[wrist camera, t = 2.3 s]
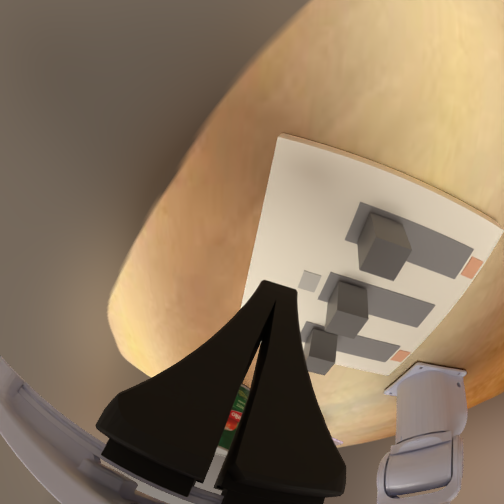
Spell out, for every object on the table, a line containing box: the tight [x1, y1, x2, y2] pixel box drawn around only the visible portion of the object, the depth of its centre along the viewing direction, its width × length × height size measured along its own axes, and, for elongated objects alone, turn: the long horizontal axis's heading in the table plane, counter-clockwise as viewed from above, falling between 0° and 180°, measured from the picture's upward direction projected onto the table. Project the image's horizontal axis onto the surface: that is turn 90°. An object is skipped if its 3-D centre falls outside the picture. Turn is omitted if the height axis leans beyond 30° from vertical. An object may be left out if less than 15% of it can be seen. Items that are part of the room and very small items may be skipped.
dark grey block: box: [357, 212, 412, 281], centre depth 15 cm, size 2×2×3 cm
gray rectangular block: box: [325, 281, 369, 339], centre depth 19 cm, size 2×2×3 cm
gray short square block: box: [304, 329, 338, 375], centre depth 23 cm, size 2×2×3 cm
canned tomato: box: [215, 384, 250, 457], centre depth 35 cm, size 8×8×11 cm
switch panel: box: [241, 133, 504, 376], centre depth 21 cm, size 18×20×2 cm
